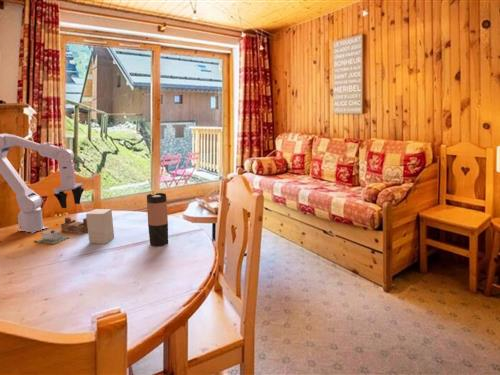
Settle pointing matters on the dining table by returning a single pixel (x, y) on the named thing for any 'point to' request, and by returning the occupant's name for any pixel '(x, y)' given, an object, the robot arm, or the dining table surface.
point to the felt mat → (54, 241)
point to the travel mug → (157, 219)
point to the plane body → (75, 225)
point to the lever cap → (51, 235)
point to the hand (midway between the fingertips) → (70, 205)
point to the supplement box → (100, 226)
